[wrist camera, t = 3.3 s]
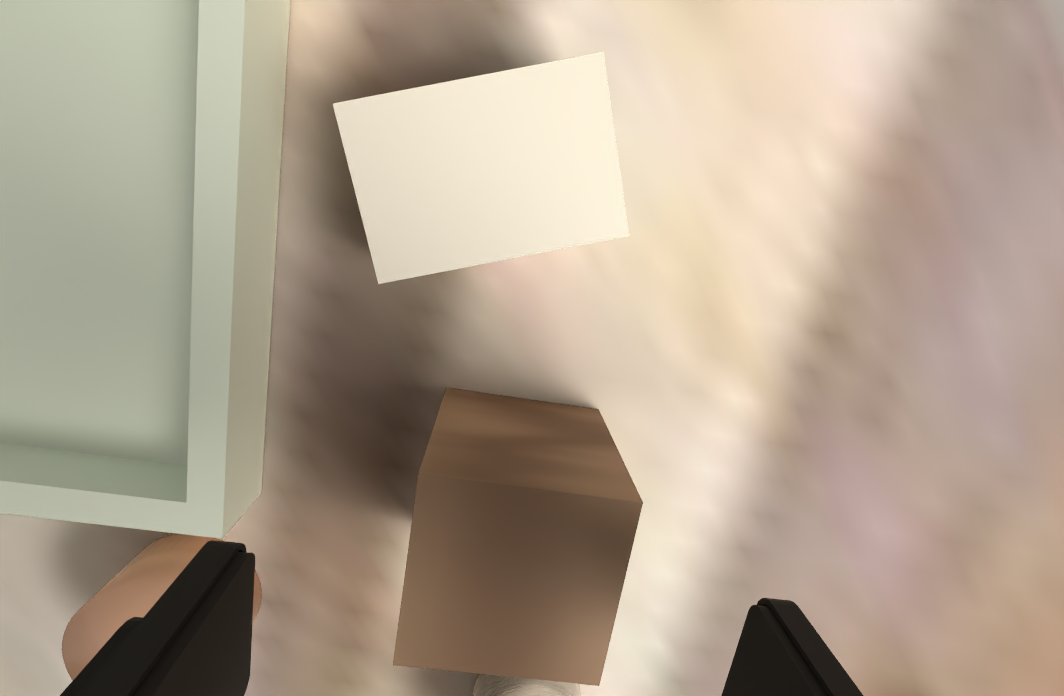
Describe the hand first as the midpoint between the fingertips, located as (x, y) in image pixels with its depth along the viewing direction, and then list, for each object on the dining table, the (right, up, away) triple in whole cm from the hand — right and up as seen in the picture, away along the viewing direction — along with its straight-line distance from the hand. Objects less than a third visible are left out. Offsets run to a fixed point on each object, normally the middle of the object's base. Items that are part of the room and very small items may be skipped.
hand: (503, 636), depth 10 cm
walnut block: (0, +1, +8) cm, 8 cm away
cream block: (-1, +10, +6) cm, 12 cm away
